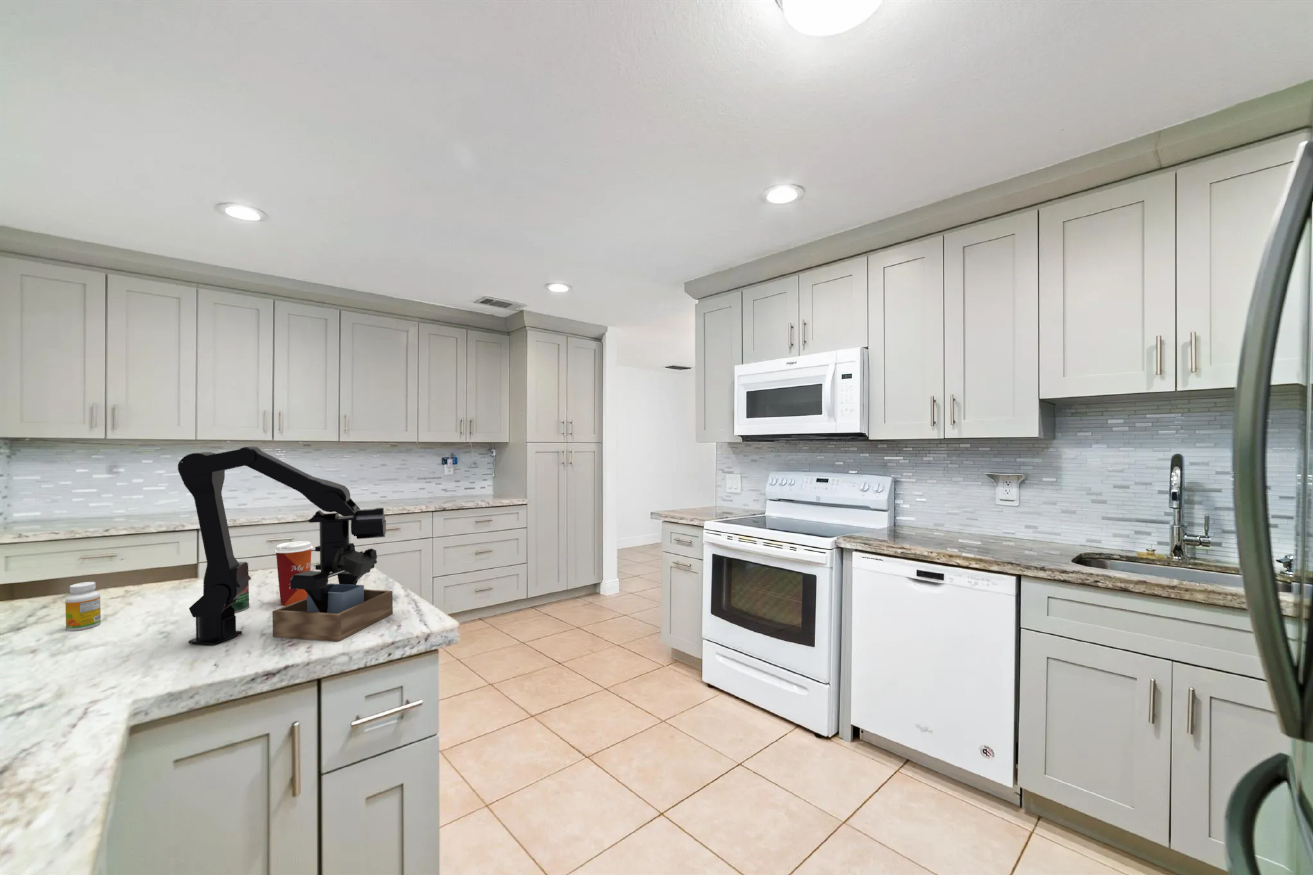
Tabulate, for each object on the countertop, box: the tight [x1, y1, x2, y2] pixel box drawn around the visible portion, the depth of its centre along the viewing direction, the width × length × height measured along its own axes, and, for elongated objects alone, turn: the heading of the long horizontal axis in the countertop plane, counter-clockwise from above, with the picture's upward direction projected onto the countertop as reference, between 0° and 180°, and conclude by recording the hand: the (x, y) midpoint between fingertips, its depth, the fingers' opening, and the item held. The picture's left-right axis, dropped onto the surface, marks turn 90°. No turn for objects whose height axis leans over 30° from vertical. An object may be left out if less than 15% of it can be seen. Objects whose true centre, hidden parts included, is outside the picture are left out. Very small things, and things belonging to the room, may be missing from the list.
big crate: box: [271, 588, 394, 642], centre depth 121 cm, size 16×17×6 cm
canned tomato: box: [231, 561, 250, 614], centre depth 132 cm, size 8×8×11 cm
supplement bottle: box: [64, 581, 102, 632], centre depth 121 cm, size 5×5×10 cm
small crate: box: [307, 582, 365, 614], centre depth 121 cm, size 9×6×6 cm
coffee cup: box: [274, 540, 314, 607], centre depth 138 cm, size 8×8×15 cm
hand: (335, 609), depth 121 cm, fingers closed on small crate, 6 cm apart
